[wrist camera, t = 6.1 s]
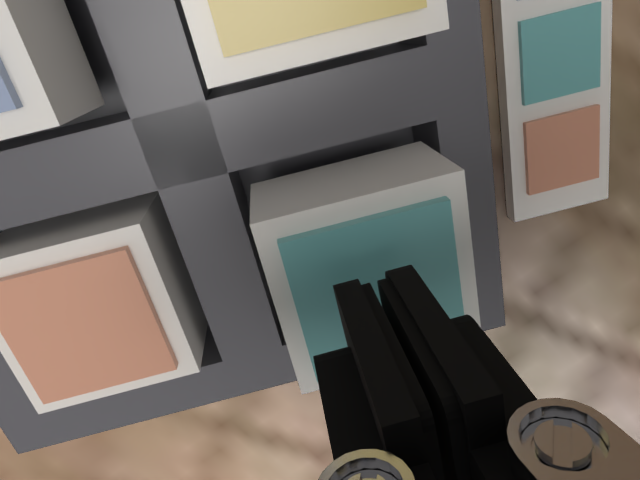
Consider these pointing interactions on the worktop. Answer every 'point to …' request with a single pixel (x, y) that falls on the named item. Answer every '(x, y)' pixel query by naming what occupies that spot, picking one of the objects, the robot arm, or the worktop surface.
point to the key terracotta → (97, 303)
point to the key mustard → (299, 31)
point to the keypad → (236, 177)
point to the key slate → (42, 68)
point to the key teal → (360, 240)
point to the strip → (553, 102)
